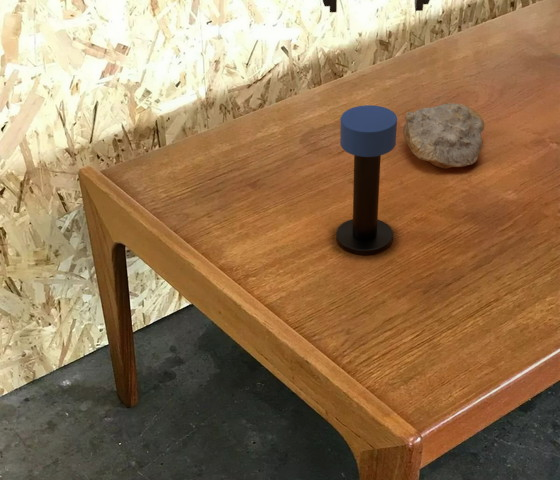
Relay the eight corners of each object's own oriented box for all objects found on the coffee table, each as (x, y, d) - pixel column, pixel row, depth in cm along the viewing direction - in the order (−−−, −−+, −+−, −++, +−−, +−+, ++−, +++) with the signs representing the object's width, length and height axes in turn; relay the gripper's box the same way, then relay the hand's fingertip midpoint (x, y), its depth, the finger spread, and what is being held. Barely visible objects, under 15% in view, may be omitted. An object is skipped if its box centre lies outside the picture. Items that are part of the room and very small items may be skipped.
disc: (396, 130, 91) (397, 105, 89) (395, 157, 87) (396, 132, 85) (341, 129, 92) (342, 104, 90) (338, 156, 88) (338, 131, 85)
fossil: (483, 174, 107) (434, 130, 102) (436, 199, 113) (388, 158, 108) (492, 111, 112) (446, 66, 108) (447, 137, 119) (401, 96, 114)
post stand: (393, 223, 101) (399, 128, 91) (392, 256, 96) (398, 159, 86) (338, 221, 101) (338, 127, 92) (334, 254, 96) (334, 158, 87)
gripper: (299, -172, 66) (303, 25, 78) (472, -180, 65) (451, 22, 77) (302, -191, 72) (306, -3, 83) (462, -198, 70) (444, -7, 82)
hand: (375, 8), depth 80 cm, fingers open, 8 cm apart
